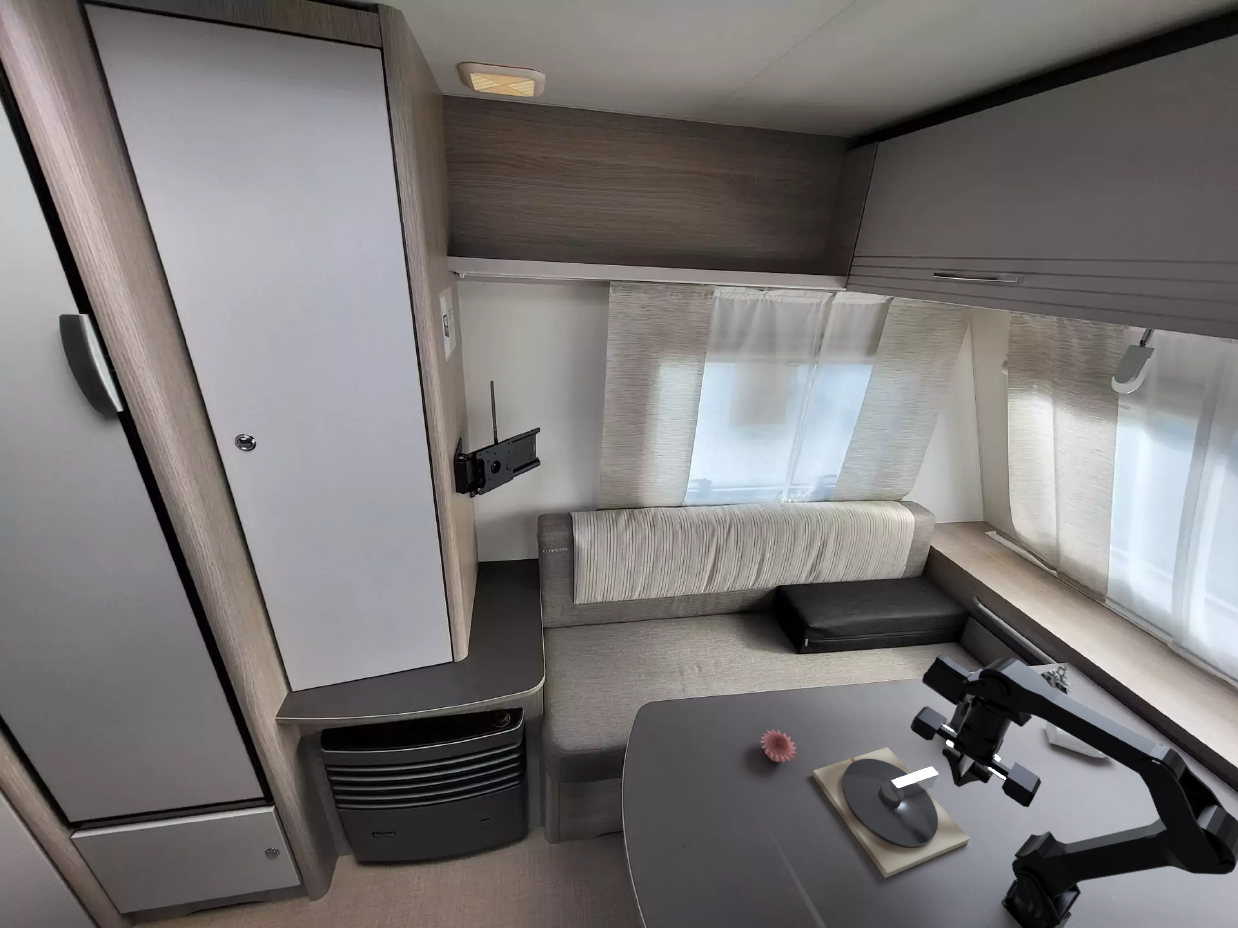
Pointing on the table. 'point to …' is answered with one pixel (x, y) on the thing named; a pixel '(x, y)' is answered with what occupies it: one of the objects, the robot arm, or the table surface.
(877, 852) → the dial board
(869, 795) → the dial
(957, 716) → the battery charger
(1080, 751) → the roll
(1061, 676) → the grey irregular lump
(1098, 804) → the table surface
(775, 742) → the flower
